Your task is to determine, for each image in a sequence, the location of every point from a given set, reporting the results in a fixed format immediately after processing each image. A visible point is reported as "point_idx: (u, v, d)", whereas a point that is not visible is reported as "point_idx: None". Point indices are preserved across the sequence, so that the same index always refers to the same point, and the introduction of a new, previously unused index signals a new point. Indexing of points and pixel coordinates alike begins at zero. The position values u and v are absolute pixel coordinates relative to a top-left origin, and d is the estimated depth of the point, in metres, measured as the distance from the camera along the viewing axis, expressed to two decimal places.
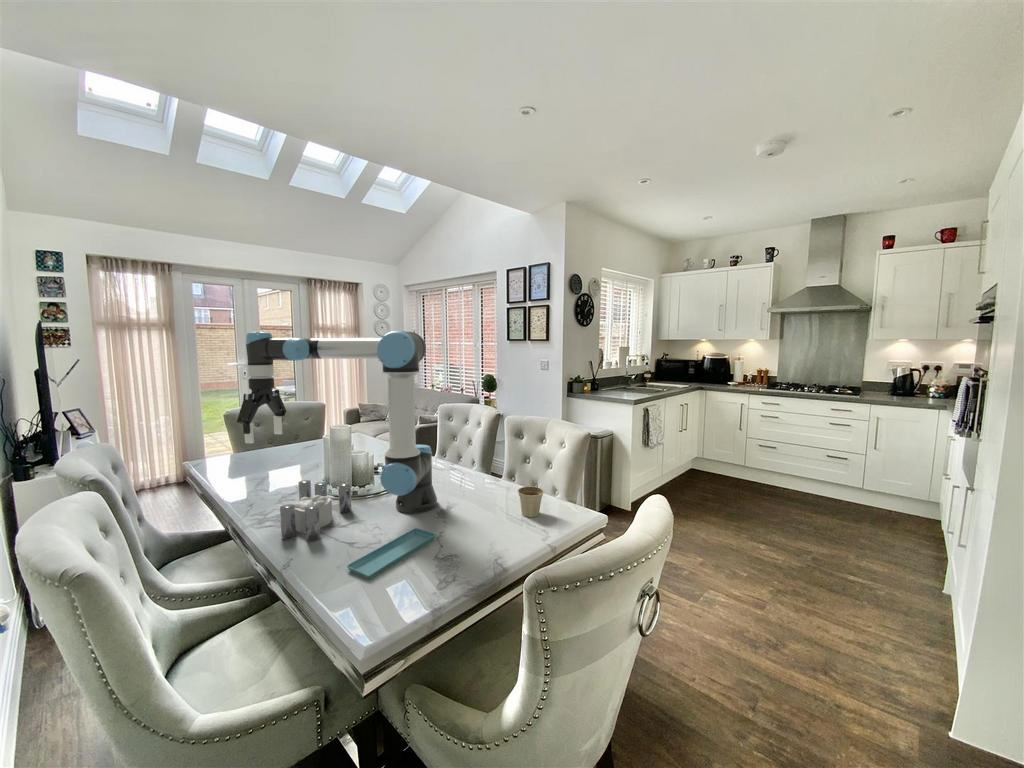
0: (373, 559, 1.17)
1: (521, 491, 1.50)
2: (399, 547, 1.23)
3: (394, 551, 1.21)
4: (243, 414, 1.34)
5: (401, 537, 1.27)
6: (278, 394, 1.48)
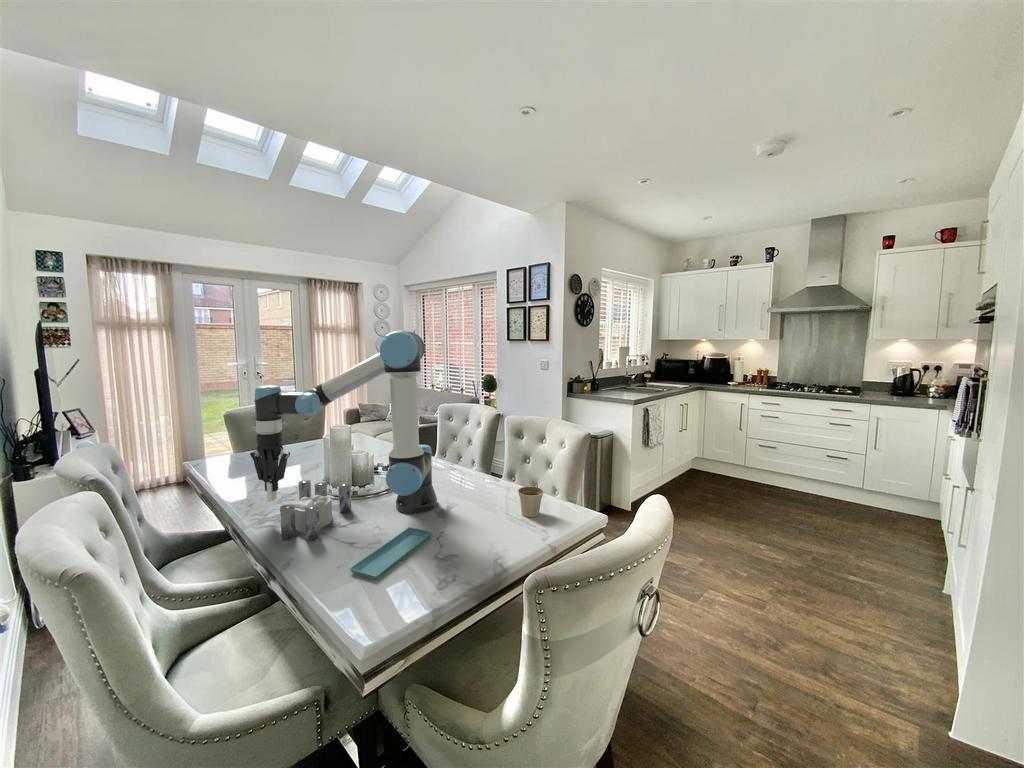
0: (374, 560, 1.16)
1: (521, 491, 1.50)
2: (397, 547, 1.23)
3: (393, 551, 1.21)
4: None
5: (397, 537, 1.27)
6: (282, 458, 1.38)
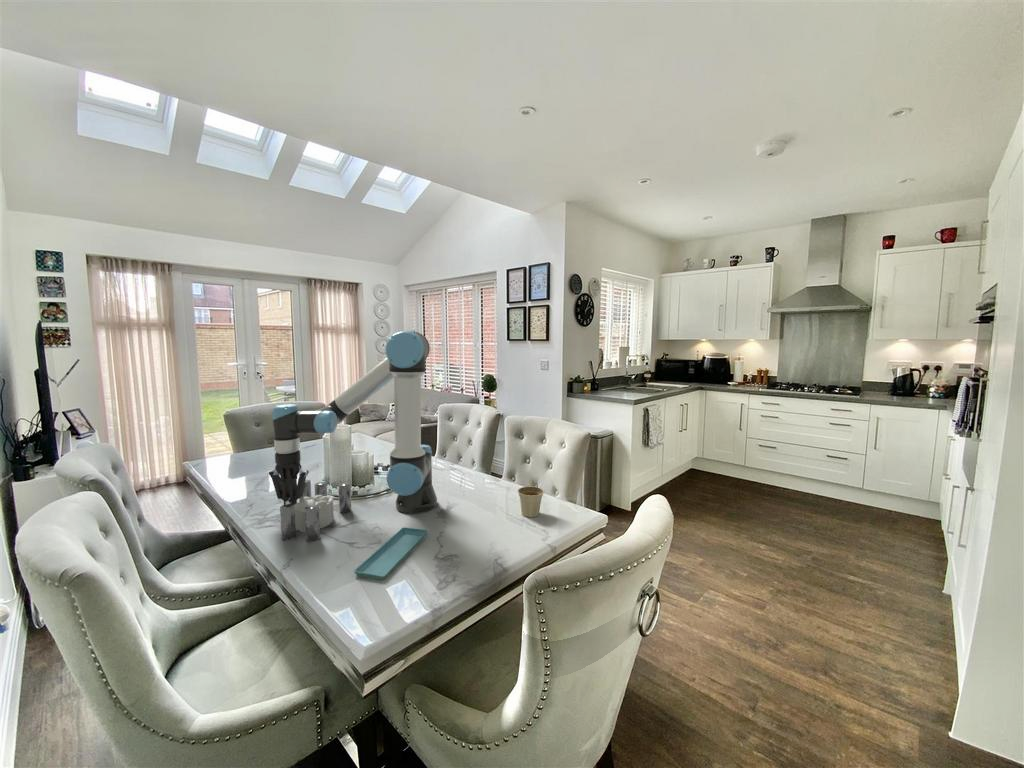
0: (375, 561, 1.15)
1: (521, 491, 1.50)
2: (395, 547, 1.23)
3: (393, 551, 1.21)
4: None
5: (393, 537, 1.27)
6: (300, 476, 1.38)
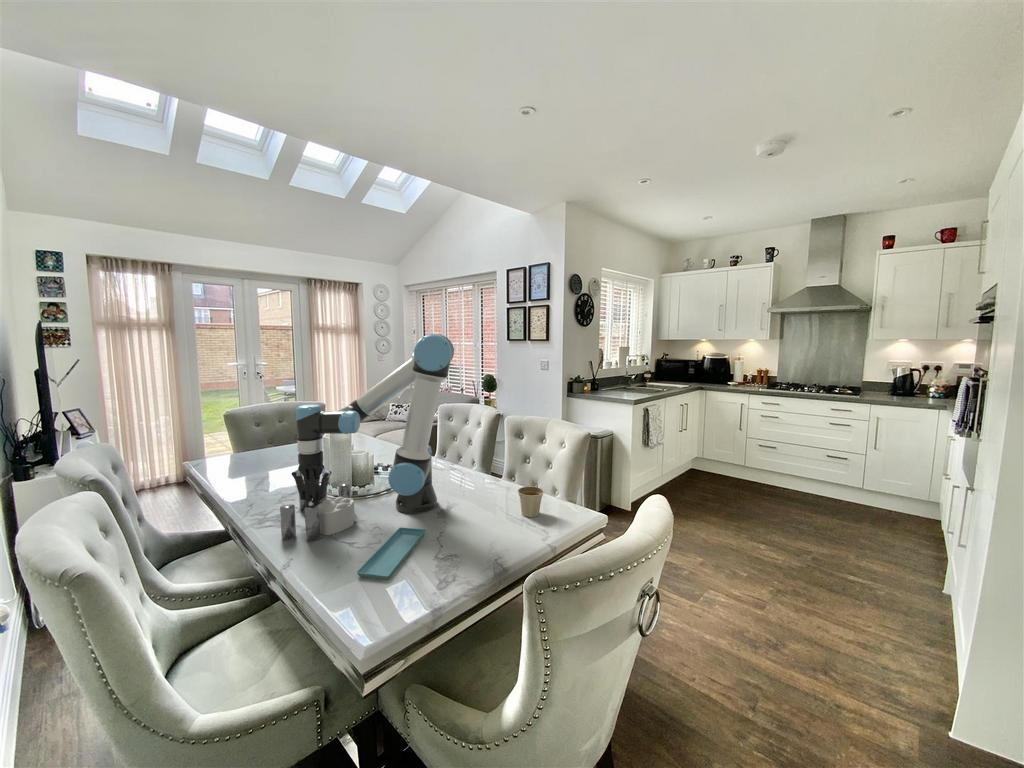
0: (376, 562, 1.15)
1: (521, 491, 1.50)
2: (394, 547, 1.23)
3: (392, 551, 1.21)
4: None
5: (391, 538, 1.27)
6: (324, 477, 1.37)
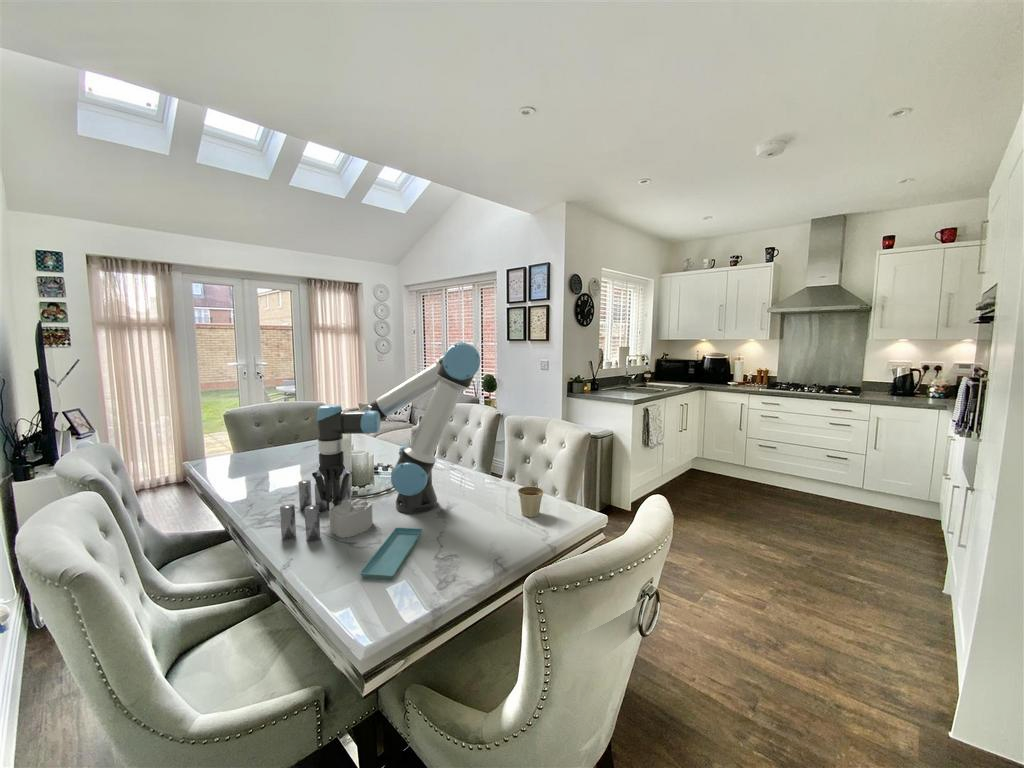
0: (377, 562, 1.15)
1: (521, 491, 1.50)
2: (393, 547, 1.23)
3: (392, 551, 1.21)
4: None
5: (389, 538, 1.26)
6: (344, 478, 1.36)
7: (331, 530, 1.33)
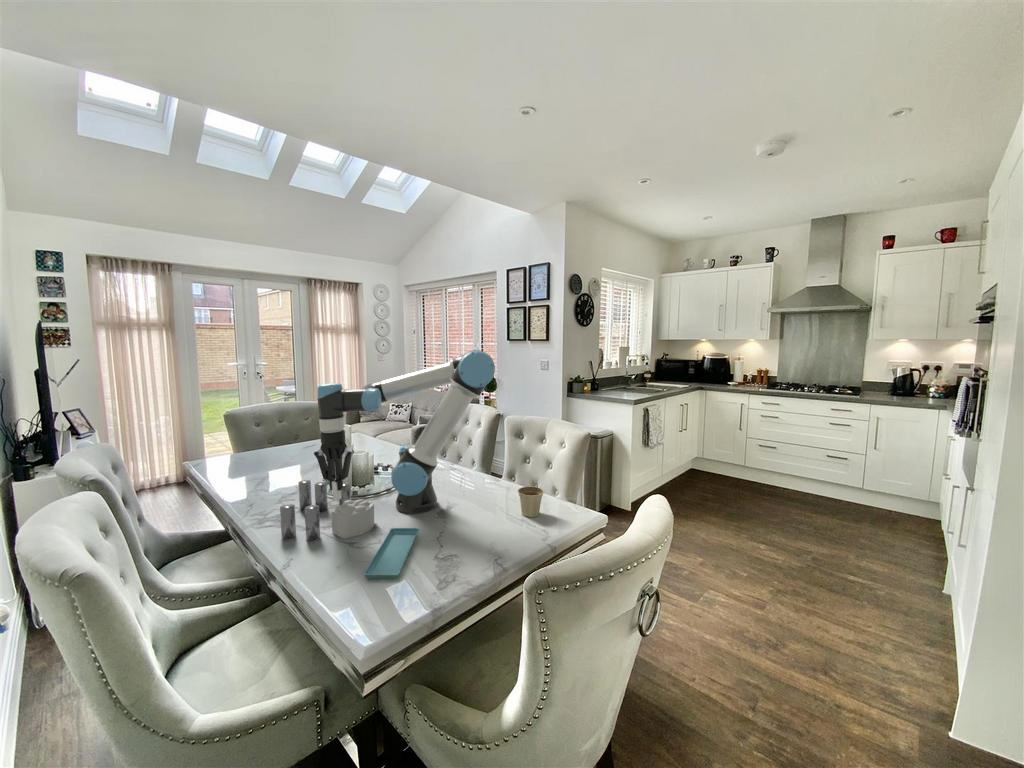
0: (378, 563, 1.14)
1: (521, 491, 1.50)
2: (391, 548, 1.23)
3: (391, 552, 1.21)
4: None
5: (386, 539, 1.26)
6: (346, 456, 1.36)
7: (333, 530, 1.33)
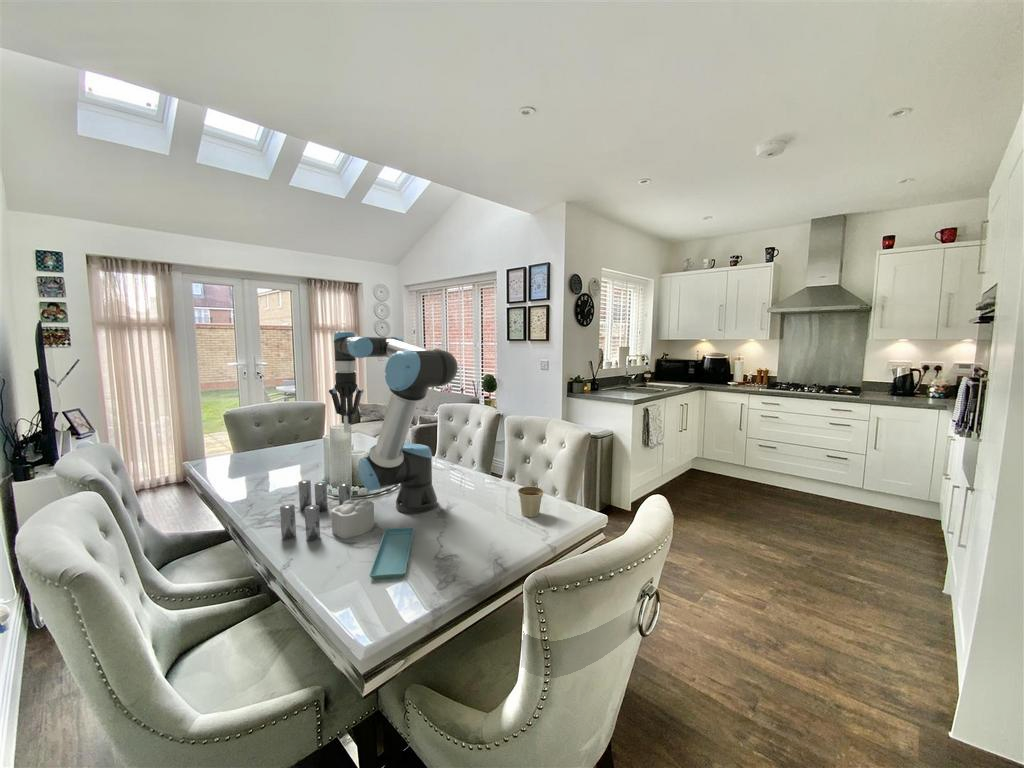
0: (380, 564, 1.14)
1: (521, 491, 1.50)
2: (390, 548, 1.23)
3: (390, 552, 1.21)
4: None
5: (383, 540, 1.25)
6: (357, 394, 1.59)
7: (333, 530, 1.33)
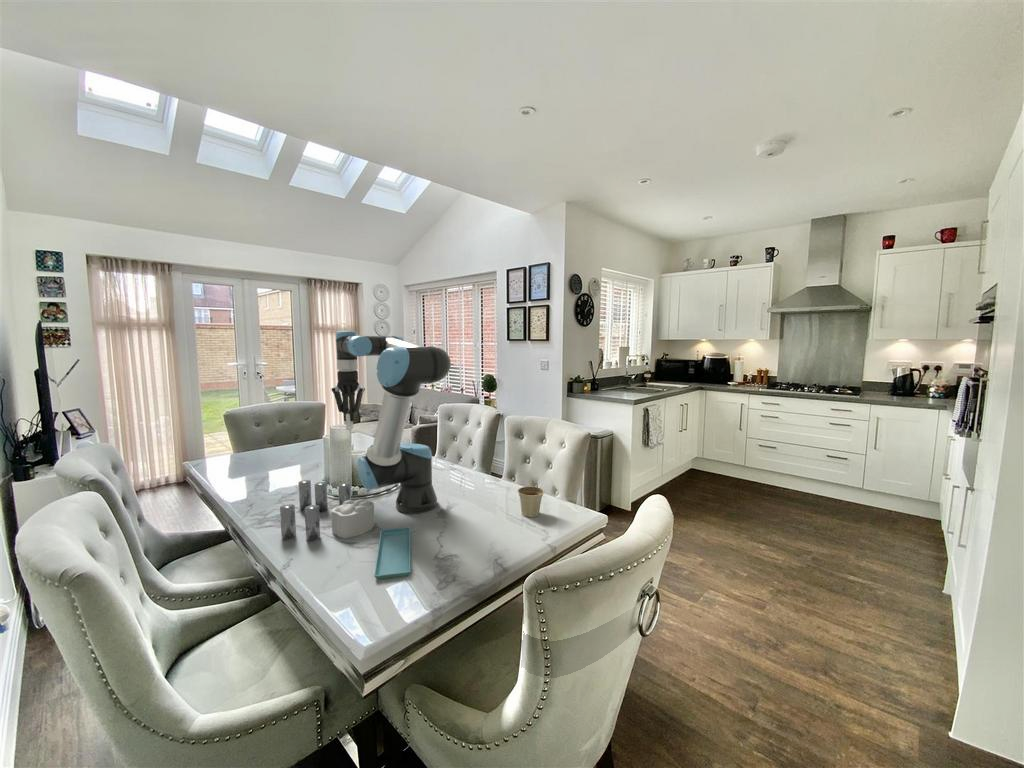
0: (382, 564, 1.14)
1: (521, 491, 1.50)
2: (388, 548, 1.23)
3: (390, 552, 1.20)
4: None
5: (380, 540, 1.25)
6: (359, 392, 1.62)
7: (333, 530, 1.33)
